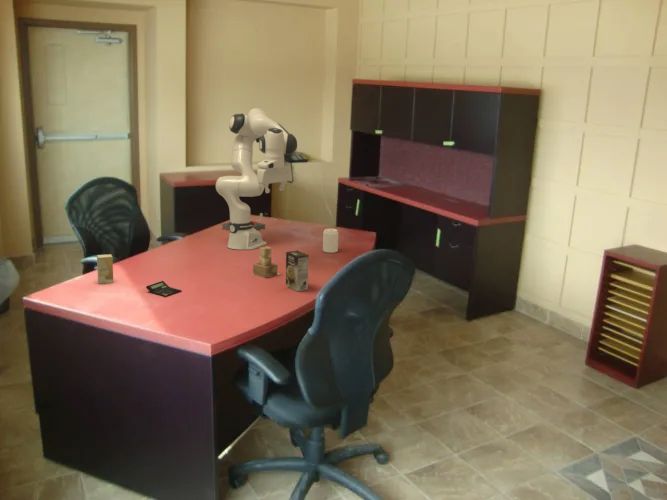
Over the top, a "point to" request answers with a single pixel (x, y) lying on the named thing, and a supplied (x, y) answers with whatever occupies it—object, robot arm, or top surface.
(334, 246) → the beverage can
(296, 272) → the coffee box
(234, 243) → the robot arm
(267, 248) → the oak block
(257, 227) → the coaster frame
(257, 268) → the walnut brick
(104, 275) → the skincare box
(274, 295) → the top surface
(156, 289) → the calculator
